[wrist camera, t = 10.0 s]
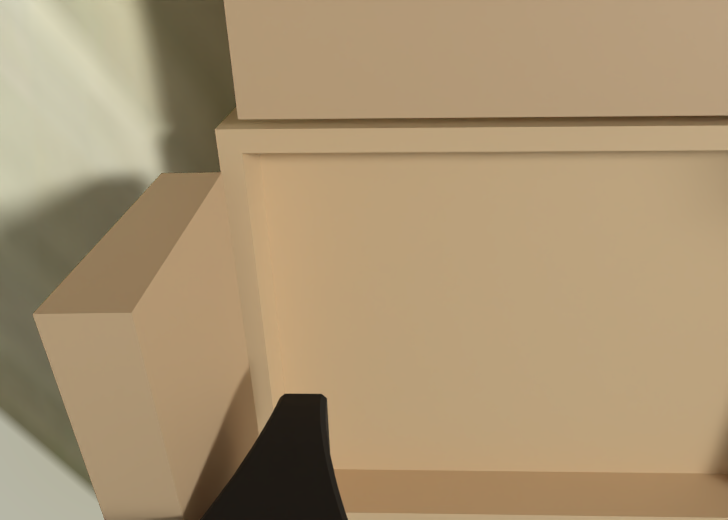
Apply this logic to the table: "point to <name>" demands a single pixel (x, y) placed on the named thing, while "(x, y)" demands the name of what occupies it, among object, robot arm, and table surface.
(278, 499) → the robot arm
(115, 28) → the table surface
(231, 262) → the flap
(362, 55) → the carton
